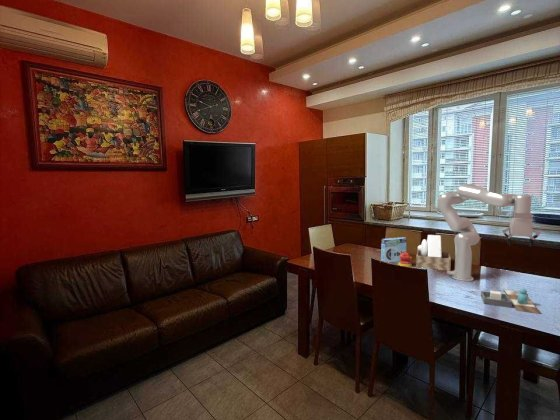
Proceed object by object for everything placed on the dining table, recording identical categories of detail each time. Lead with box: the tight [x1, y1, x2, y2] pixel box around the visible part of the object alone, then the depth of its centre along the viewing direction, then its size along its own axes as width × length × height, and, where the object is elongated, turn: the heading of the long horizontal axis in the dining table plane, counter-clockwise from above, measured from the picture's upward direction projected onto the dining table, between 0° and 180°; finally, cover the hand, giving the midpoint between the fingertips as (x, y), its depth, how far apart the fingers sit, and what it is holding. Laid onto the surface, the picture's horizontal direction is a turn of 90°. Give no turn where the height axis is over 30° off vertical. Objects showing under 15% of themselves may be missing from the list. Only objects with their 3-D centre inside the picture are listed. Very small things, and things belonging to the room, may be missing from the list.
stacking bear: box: [398, 252, 413, 268], centre depth 205 cm, size 11×10×18 cm
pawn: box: [517, 288, 529, 305], centre depth 161 cm, size 4×4×8 cm
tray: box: [480, 290, 513, 309], centre depth 164 cm, size 12×12×3 cm
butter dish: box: [417, 234, 442, 258], centre depth 237 cm, size 18×18×16 cm
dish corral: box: [415, 249, 452, 271], centre depth 235 cm, size 23×23×9 cm
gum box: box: [380, 236, 407, 265], centre depth 230 cm, size 20×5×23 cm, turn 106°
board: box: [503, 289, 542, 315], centre depth 165 cm, size 10×32×1 cm, turn 153°
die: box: [489, 290, 502, 300], centre depth 165 cm, size 5×5×5 cm
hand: (519, 245), depth 173 cm, fingers open, 9 cm apart
